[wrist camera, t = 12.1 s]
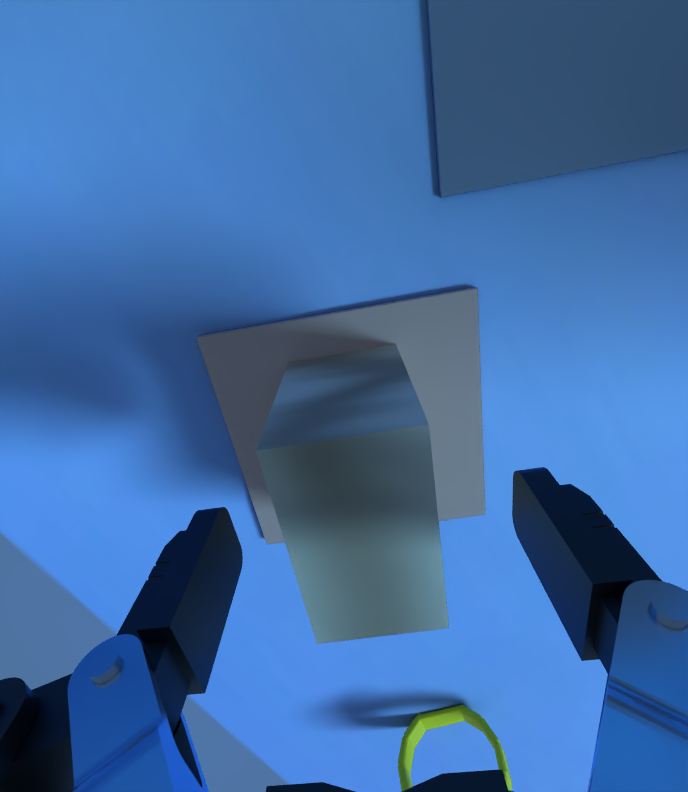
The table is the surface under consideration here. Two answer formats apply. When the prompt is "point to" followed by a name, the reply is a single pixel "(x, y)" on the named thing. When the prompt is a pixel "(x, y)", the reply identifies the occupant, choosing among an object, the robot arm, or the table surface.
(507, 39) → the board
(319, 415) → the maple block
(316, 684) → the table surface
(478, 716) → the watch
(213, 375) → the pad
